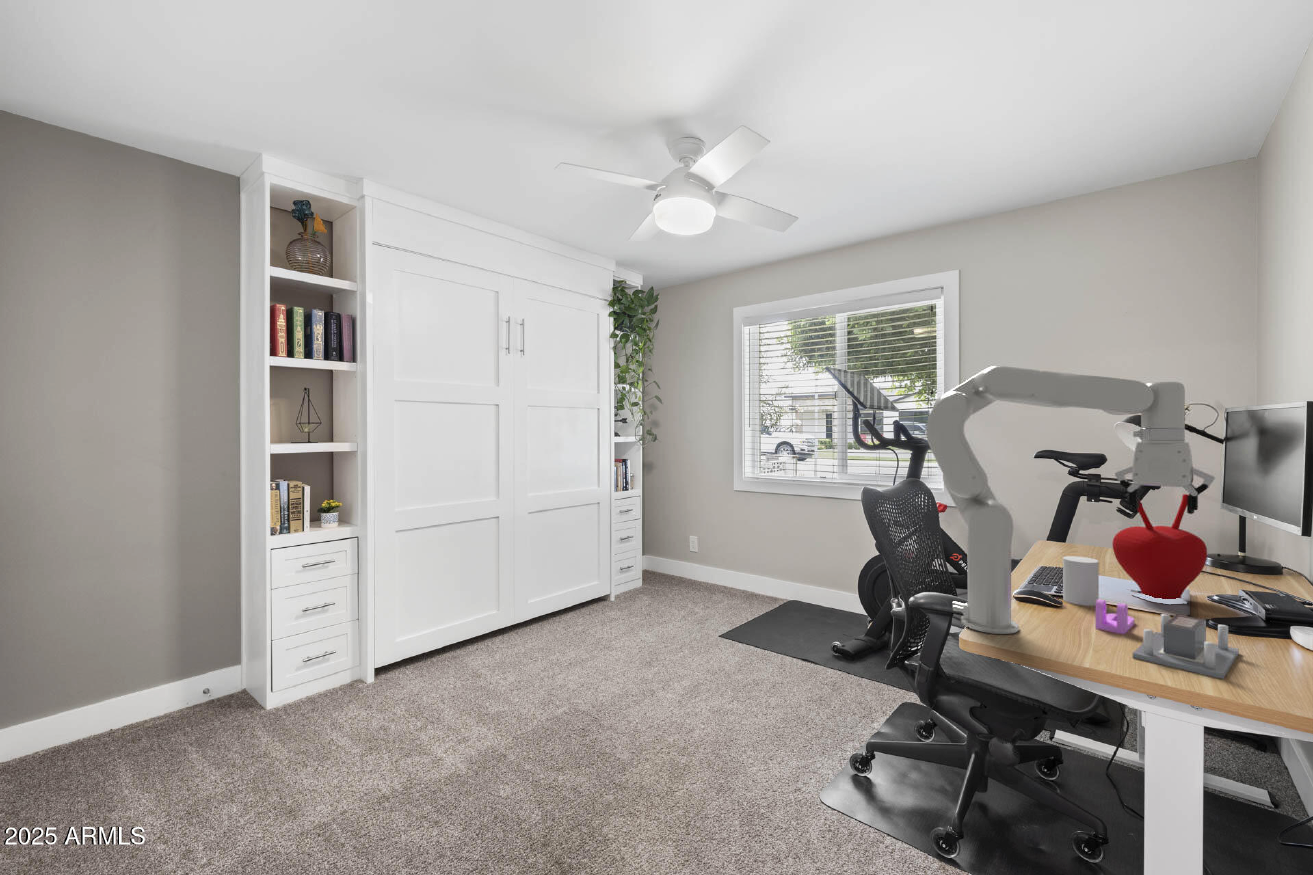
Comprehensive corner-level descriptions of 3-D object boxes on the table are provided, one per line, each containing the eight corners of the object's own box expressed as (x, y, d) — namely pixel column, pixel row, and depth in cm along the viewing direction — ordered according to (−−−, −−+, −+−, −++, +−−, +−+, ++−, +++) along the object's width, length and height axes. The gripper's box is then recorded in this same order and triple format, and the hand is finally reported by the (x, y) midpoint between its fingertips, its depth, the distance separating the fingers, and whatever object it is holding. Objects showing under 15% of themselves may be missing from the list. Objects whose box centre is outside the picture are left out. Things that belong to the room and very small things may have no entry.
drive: (1163, 652, 124) (1163, 624, 124) (1175, 640, 131) (1175, 613, 131) (1195, 659, 120) (1195, 630, 120) (1206, 647, 127) (1206, 619, 127)
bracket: (1124, 634, 139) (1123, 605, 139) (1095, 628, 143) (1095, 600, 143) (1136, 622, 147) (1136, 595, 147) (1109, 617, 151) (1109, 590, 151)
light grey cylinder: (1105, 605, 160) (1105, 562, 160) (1076, 605, 161) (1076, 562, 160) (1084, 597, 169) (1084, 556, 168) (1056, 597, 169) (1056, 556, 169)
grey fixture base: (1132, 657, 125) (1132, 629, 125) (1155, 635, 137) (1155, 610, 137) (1222, 679, 114) (1222, 648, 114) (1238, 653, 126) (1238, 626, 126)
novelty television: (1173, 591, 173) (1173, 491, 172) (1218, 605, 160) (1218, 496, 159) (1107, 594, 171) (1107, 492, 171) (1147, 607, 158) (1147, 498, 158)
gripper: (1111, 436, 137) (1111, 508, 137) (1211, 436, 123) (1211, 516, 124) (1120, 435, 141) (1120, 505, 142) (1217, 436, 128) (1217, 513, 128)
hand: (1162, 510), depth 133 cm, fingers open, 9 cm apart
